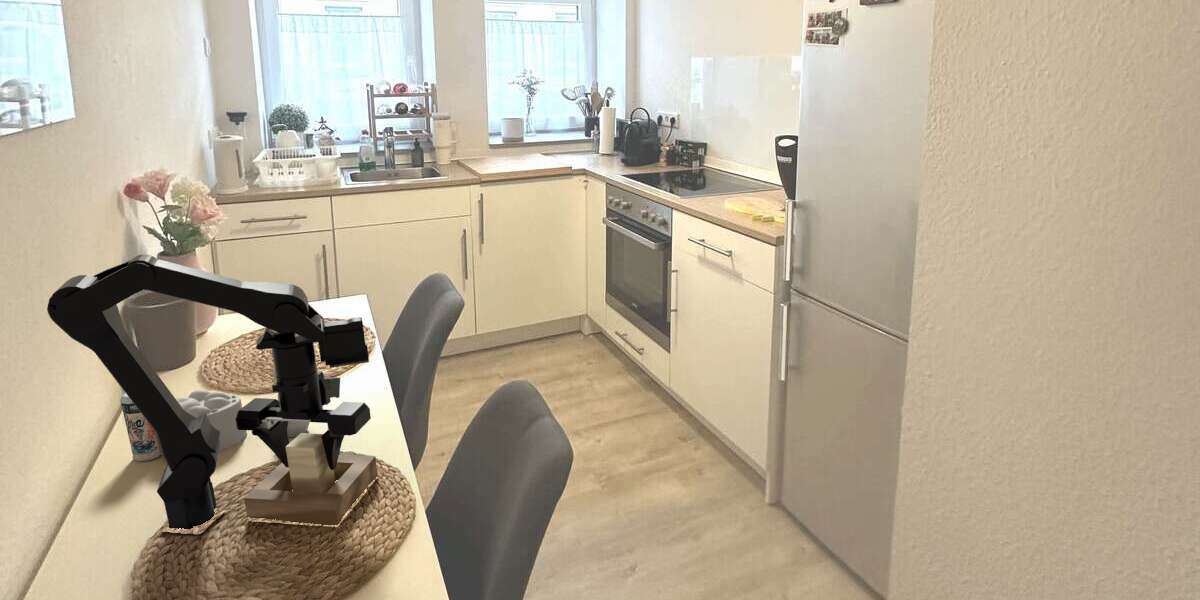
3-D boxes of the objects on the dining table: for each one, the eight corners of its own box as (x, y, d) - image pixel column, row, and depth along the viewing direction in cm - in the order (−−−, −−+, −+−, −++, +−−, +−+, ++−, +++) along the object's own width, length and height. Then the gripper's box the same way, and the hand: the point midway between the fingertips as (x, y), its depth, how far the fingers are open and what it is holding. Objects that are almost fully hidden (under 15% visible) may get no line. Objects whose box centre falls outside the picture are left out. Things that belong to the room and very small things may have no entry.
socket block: (337, 528, 115) (334, 503, 114) (248, 522, 117) (243, 498, 116) (378, 478, 128) (375, 456, 127) (296, 473, 131) (293, 451, 129)
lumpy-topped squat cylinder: (169, 437, 145) (159, 393, 142) (246, 423, 150) (239, 380, 147) (164, 463, 136) (154, 416, 133) (247, 447, 140) (239, 401, 138)
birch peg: (322, 508, 121) (313, 448, 118) (295, 506, 121) (285, 446, 118) (336, 492, 125) (328, 434, 122) (309, 490, 126) (301, 432, 123)
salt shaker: (300, 441, 142) (290, 372, 138) (271, 438, 143) (260, 371, 139) (318, 426, 147) (308, 360, 143) (290, 424, 148) (279, 358, 144)
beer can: (129, 465, 135) (114, 399, 132) (137, 452, 140) (122, 388, 136) (161, 460, 136) (147, 395, 133) (167, 447, 141) (154, 384, 137)
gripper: (380, 353, 123) (390, 445, 127) (267, 349, 126) (281, 439, 130) (347, 382, 112) (360, 481, 117) (225, 377, 115) (242, 474, 120)
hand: (311, 467), depth 121 cm, fingers open, 7 cm apart
